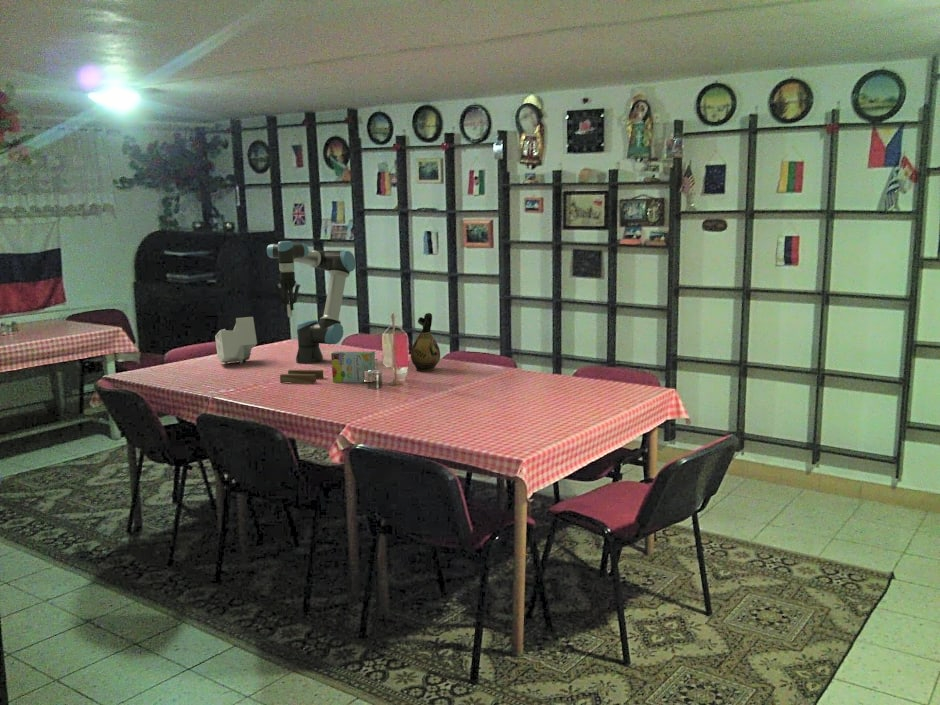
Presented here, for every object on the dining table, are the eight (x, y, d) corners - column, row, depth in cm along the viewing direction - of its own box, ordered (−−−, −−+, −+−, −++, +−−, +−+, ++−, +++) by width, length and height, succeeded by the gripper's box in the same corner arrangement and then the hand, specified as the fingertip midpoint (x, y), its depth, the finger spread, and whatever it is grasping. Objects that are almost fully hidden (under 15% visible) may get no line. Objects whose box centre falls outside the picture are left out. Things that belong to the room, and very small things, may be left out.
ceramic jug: (433, 373, 433) (431, 316, 428) (406, 372, 439) (404, 315, 433) (446, 367, 448) (444, 311, 443) (420, 365, 454) (418, 310, 449)
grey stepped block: (222, 363, 462) (216, 319, 465) (217, 369, 476) (211, 326, 479) (259, 359, 471) (253, 316, 474) (253, 365, 485) (246, 323, 488)
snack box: (376, 380, 420) (374, 351, 417) (372, 383, 415) (371, 353, 412) (336, 380, 425) (334, 350, 422) (332, 382, 419) (330, 352, 417)
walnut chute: (290, 377, 434) (289, 369, 433) (323, 377, 431) (323, 370, 430) (280, 382, 421) (279, 375, 421) (314, 383, 418) (314, 375, 417)
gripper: (272, 272, 431) (275, 317, 435) (296, 271, 429) (299, 317, 433) (277, 270, 438) (281, 315, 443) (301, 270, 436) (304, 315, 440)
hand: (290, 316), depth 438 cm, fingers closed
